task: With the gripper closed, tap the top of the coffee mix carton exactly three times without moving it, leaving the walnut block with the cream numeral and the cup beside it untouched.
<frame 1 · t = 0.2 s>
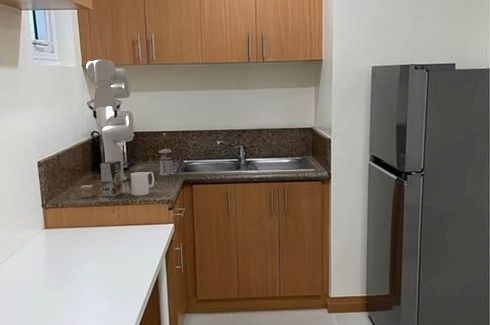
hand: (105, 118, 241), 37 cm above the counter, tool pointing down, fingers open, 9 cm apart
coffee box: (112, 195, 231), on the counter
cup: (144, 193, 232), on the counter
french press: (166, 174, 287), on the counter
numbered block: (87, 196, 229), on the counter
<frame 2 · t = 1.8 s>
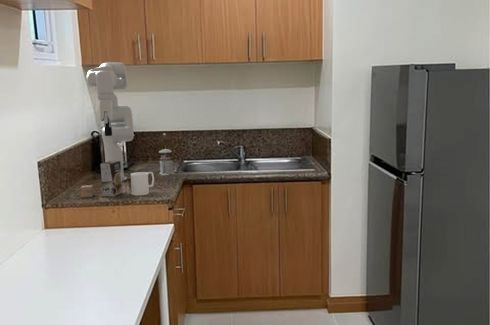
hand: (108, 135, 226), 29 cm above the counter, tool pointing down, fingers closed
nothing on the counter moved.
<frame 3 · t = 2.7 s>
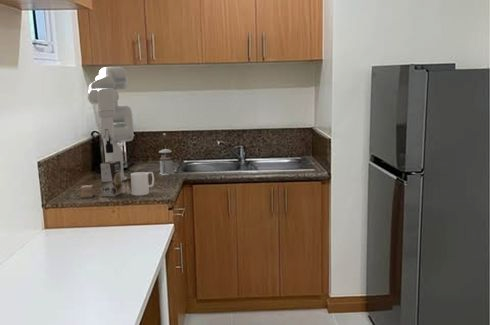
hand: (109, 152, 227), 21 cm above the counter, tool pointing down, fingers closed
nothing on the counter moved.
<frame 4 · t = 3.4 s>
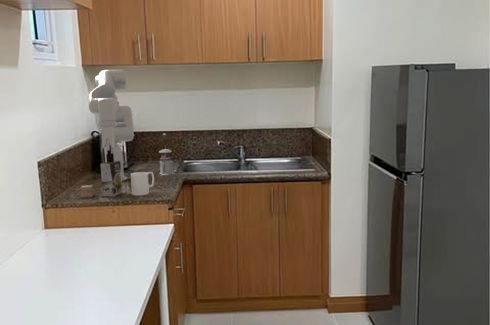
hand: (110, 162, 228), 16 cm above the counter, tool pointing down, fingers closed
coffee box: (112, 194, 231), on the counter, touching gripper
everything else where it was.
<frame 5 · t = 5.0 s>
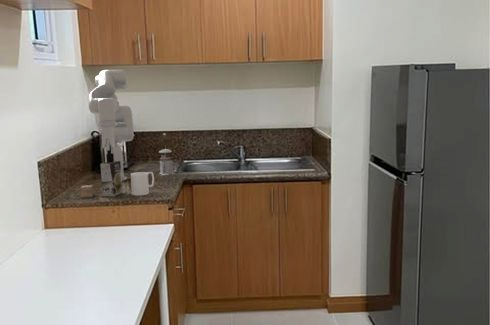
hand: (110, 162, 228), 16 cm above the counter, tool pointing down, fingers closed
nothing on the counter moved.
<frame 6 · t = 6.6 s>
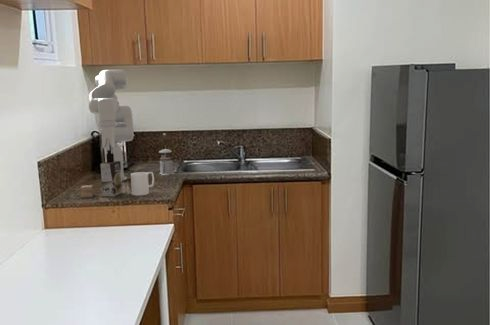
hand: (110, 162, 228), 16 cm above the counter, tool pointing down, fingers closed
nothing on the counter moved.
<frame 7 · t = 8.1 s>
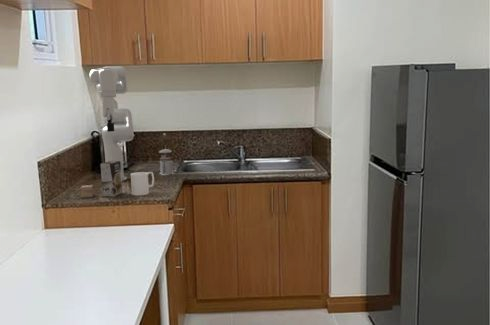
hand: (111, 131, 238), 30 cm above the counter, tool pointing down, fingers closed
coffee box: (112, 195, 231), on the counter
everything else where it was.
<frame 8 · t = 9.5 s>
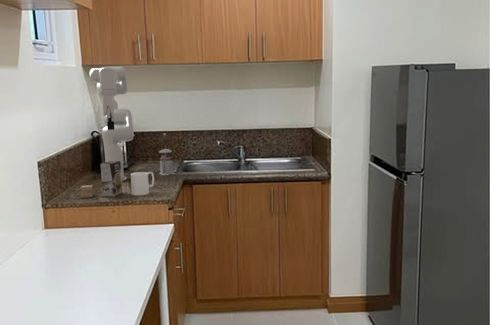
hand: (111, 129, 238), 31 cm above the counter, tool pointing down, fingers closed
nothing on the counter moved.
at the end: coffee box moved 0.2 cm from its start; coffee box tilted 0°; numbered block moved 0.1 cm from its start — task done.
